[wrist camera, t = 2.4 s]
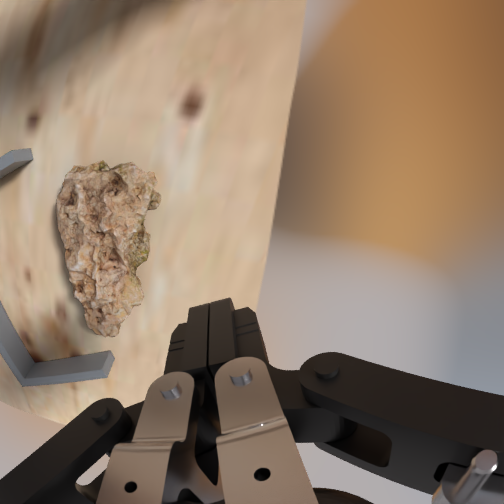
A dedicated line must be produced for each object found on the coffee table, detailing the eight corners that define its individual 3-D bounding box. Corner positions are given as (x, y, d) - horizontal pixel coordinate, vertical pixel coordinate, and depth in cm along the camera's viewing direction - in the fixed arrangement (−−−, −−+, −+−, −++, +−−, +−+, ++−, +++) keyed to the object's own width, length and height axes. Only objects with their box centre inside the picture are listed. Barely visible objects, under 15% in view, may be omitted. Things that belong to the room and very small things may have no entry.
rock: (182, 334, 29) (85, 348, 26) (176, 307, 33) (91, 320, 31) (157, 153, 23) (39, 175, 20) (156, 150, 27) (56, 168, 24)
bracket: (30, 148, 24) (11, 150, 21) (114, 358, 32) (107, 377, 29) (-45, 198, 24) (-63, 204, 20) (32, 370, 32) (22, 386, 29)
